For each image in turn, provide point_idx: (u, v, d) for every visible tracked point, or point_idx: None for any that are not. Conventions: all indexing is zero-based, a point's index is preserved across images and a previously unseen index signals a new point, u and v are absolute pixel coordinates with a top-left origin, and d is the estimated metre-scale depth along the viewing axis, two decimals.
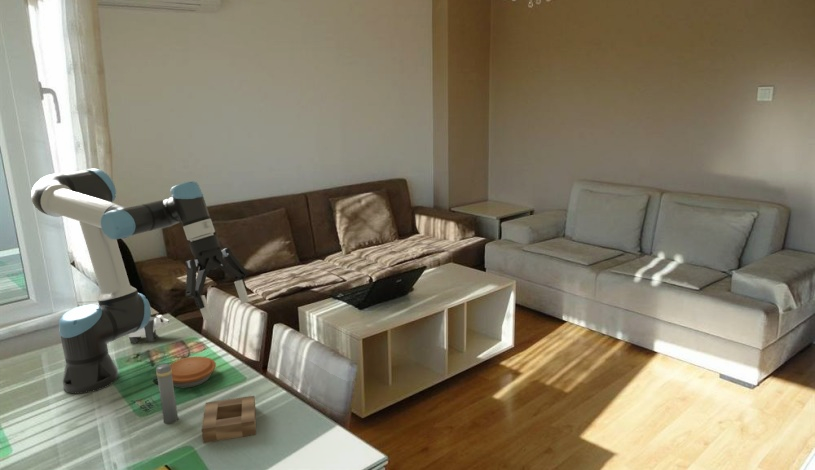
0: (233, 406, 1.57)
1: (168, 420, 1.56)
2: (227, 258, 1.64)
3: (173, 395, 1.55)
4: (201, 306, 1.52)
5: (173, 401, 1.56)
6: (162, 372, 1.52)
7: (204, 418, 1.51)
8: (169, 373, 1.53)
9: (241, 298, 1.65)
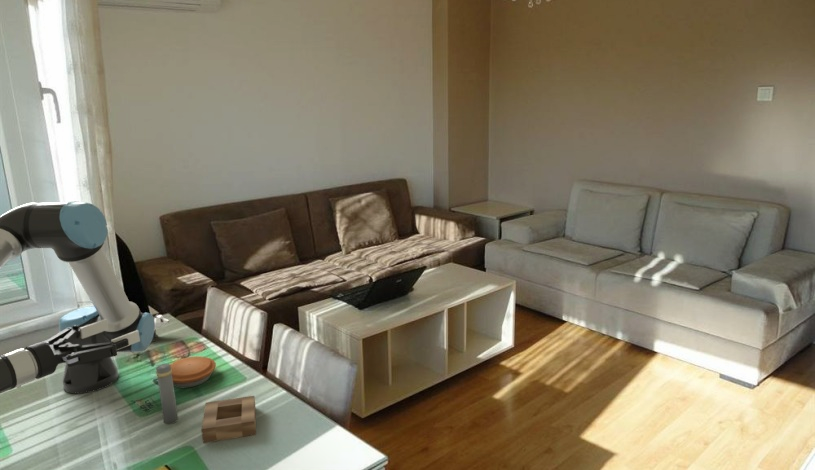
0: (233, 406, 1.57)
1: (168, 420, 1.56)
2: None
3: (173, 395, 1.55)
4: None
5: (173, 401, 1.56)
6: (162, 372, 1.52)
7: (204, 418, 1.51)
8: (169, 373, 1.53)
9: None
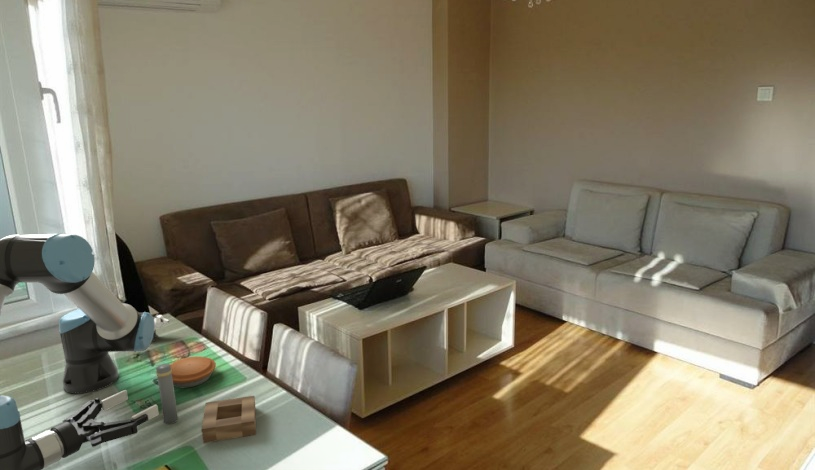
0: (233, 406, 1.57)
1: (168, 420, 1.56)
2: None
3: (173, 395, 1.55)
4: None
5: (173, 401, 1.56)
6: (162, 372, 1.52)
7: (204, 418, 1.51)
8: (169, 373, 1.53)
9: None
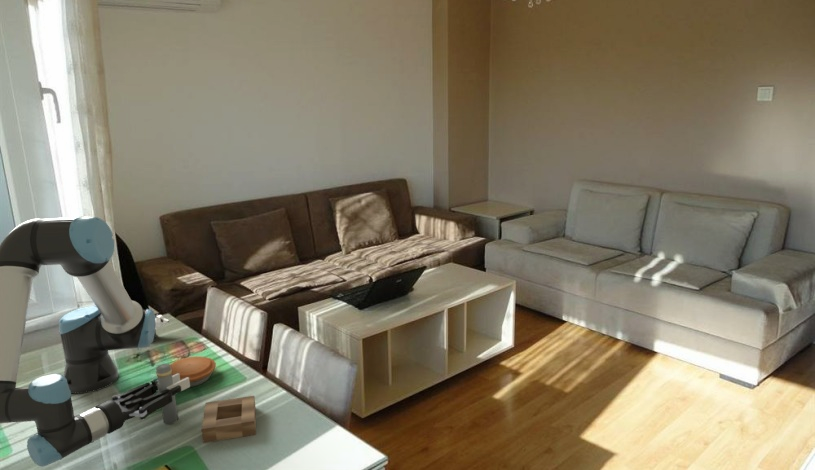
0: (233, 406, 1.57)
1: (168, 420, 1.56)
2: None
3: (173, 395, 1.55)
4: None
5: (173, 401, 1.56)
6: (162, 372, 1.52)
7: (204, 418, 1.51)
8: (169, 373, 1.53)
9: None
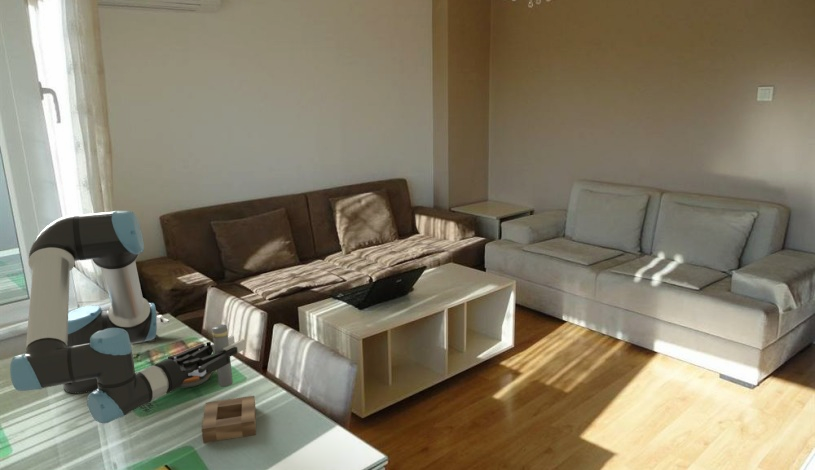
0: (233, 406, 1.57)
1: (223, 383, 1.50)
2: None
3: None
4: None
5: (229, 363, 1.49)
6: (219, 332, 1.46)
7: (204, 418, 1.51)
8: (225, 333, 1.47)
9: None
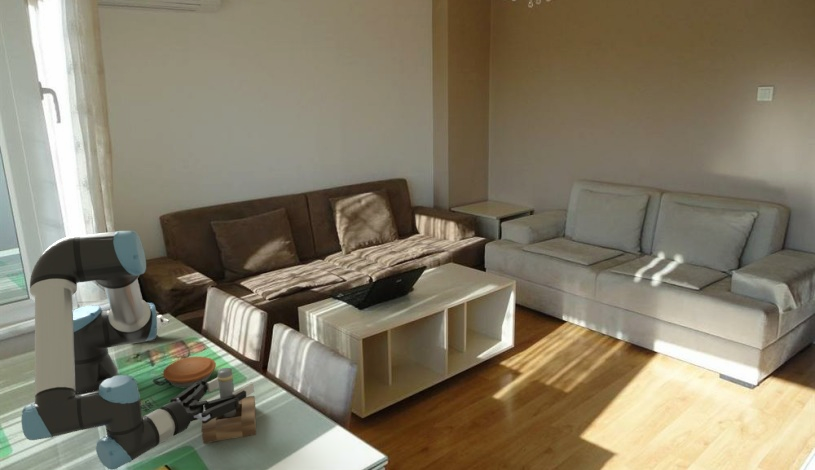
0: None
1: None
2: None
3: None
4: None
5: None
6: (224, 376, 1.49)
7: None
8: (231, 377, 1.50)
9: None
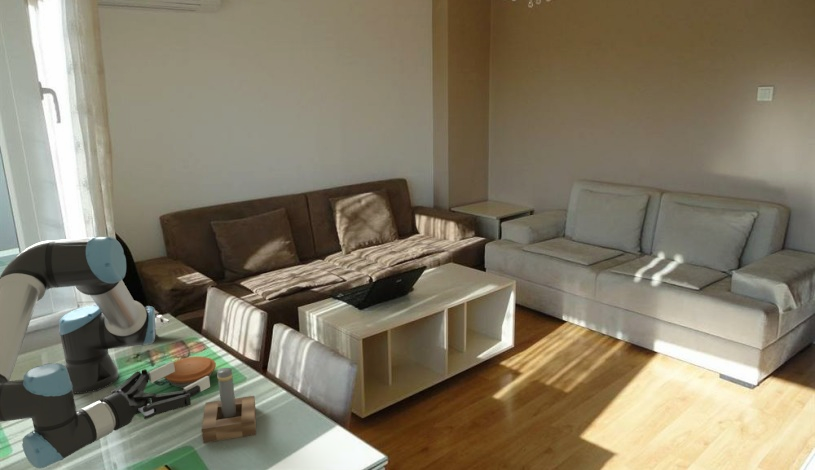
0: None
1: None
2: None
3: (234, 399, 1.53)
4: None
5: (233, 406, 1.53)
6: (224, 376, 1.49)
7: (204, 418, 1.51)
8: (230, 377, 1.50)
9: None
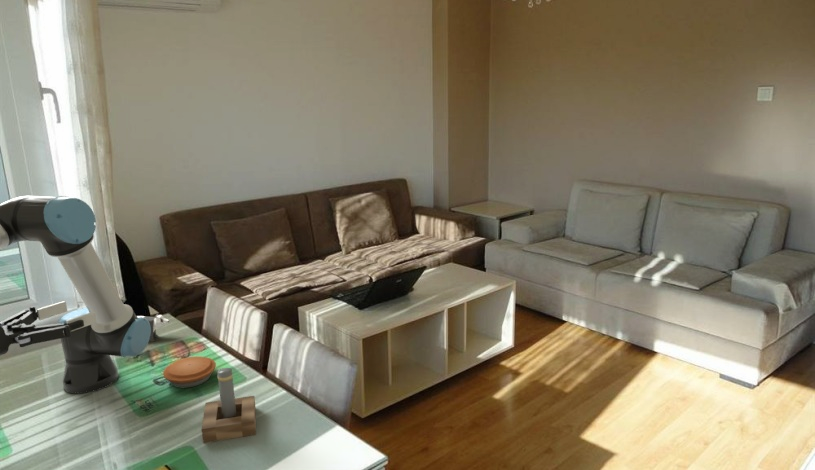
0: None
1: None
2: None
3: (234, 400, 1.53)
4: None
5: (234, 406, 1.53)
6: (224, 376, 1.49)
7: (204, 418, 1.51)
8: (230, 377, 1.50)
9: None
